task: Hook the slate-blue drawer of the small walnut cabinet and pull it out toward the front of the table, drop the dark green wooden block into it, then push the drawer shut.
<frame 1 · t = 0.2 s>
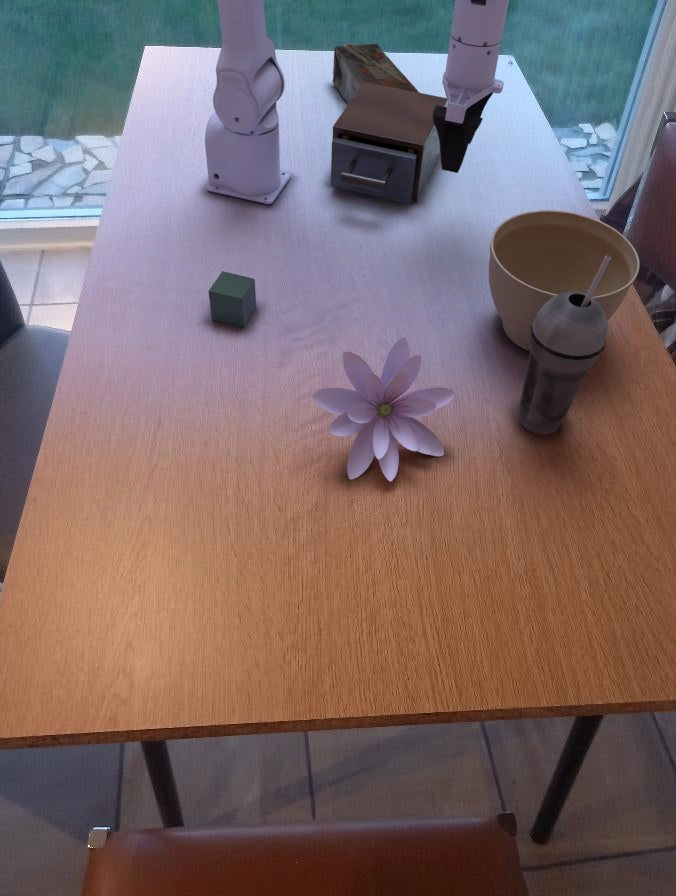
hand: (456, 155, 97), 10 cm above the table, tool pointing down, fingers open, 7 cm apart
cabinet: (387, 168, 113), on the table
beverage carton: (373, 109, 124), on the table
block: (234, 313, 90), on the table
beverage cup: (538, 420, 83), on the table
water lily: (380, 450, 79), on the table
planter bowl: (540, 331, 92), on the table
drawer: (380, 157, 107), point 4 cm above the table, slide at 1.0 cm
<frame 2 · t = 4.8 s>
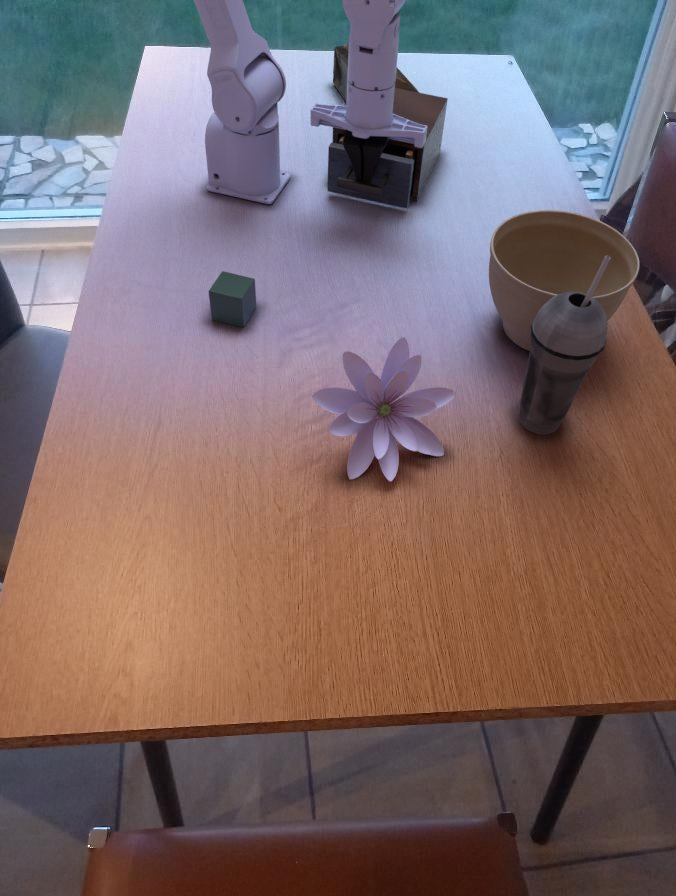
hand: (364, 188, 102), 4 cm above the table, tool pointing down, fingers closed, pressing on drawer
drawer: (377, 162, 106), point 4 cm above the table, slide at 2.4 cm, touching gripper
everything else where it was.
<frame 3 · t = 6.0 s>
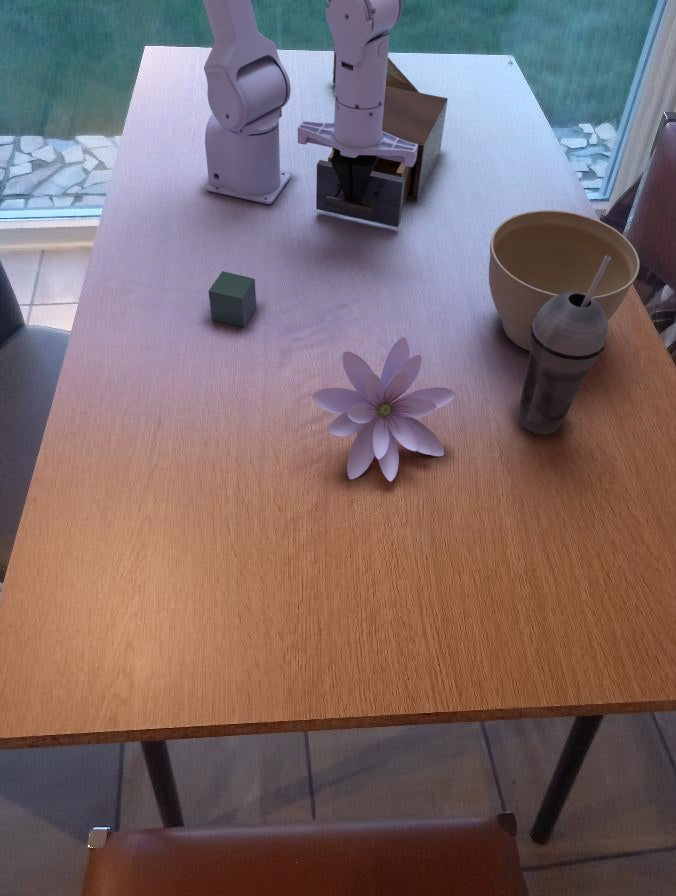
hand: (353, 207, 99), 4 cm above the table, tool pointing down, fingers closed, pressing on drawer
drawer: (367, 179, 103), point 4 cm above the table, slide at 7.3 cm, touching gripper
everything else where it was.
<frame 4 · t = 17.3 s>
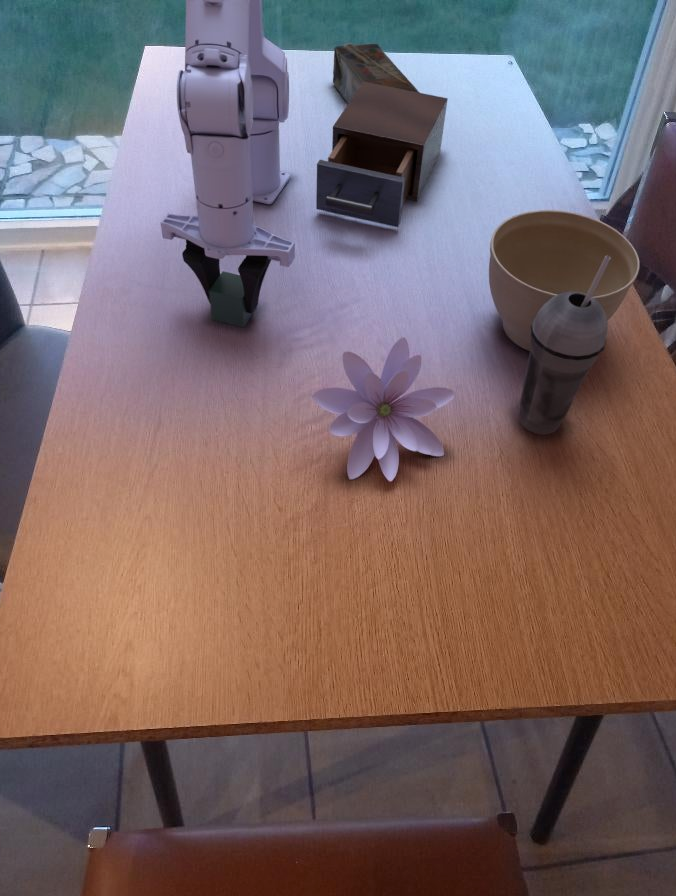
hand: (233, 303, 89), 1 cm above the table, tool pointing down, fingers closed on block, 4 cm apart
block: (234, 313, 90), on the table, touching gripper
drawer: (367, 179, 103), point 4 cm above the table, slide at 7.3 cm
everything else where it was.
when the fingers open (6 cm above the table, at t = 23.3 s): block drops 3 cm, resting on drawer.
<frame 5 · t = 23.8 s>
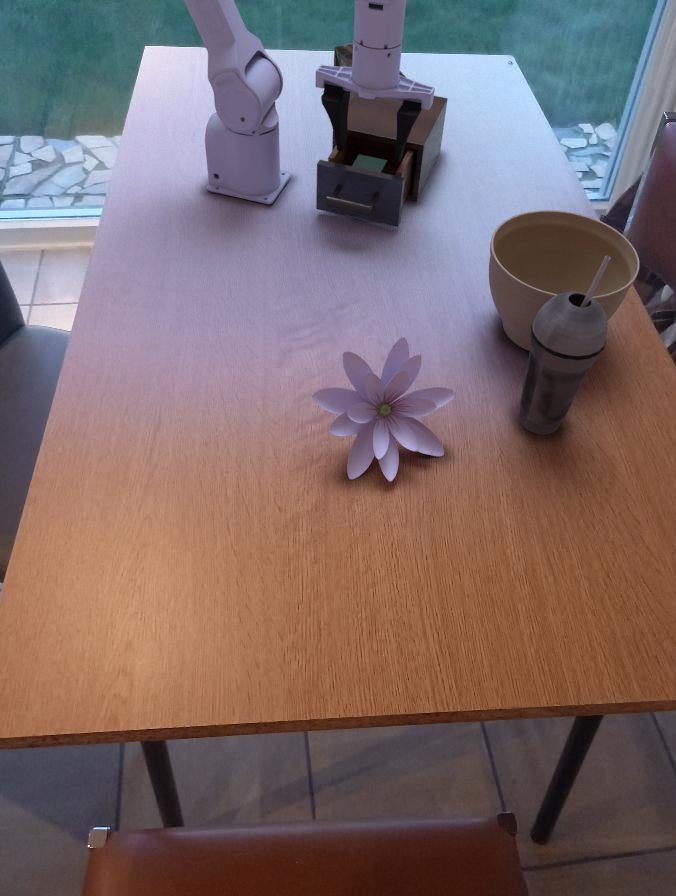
hand: (369, 153, 101), 7 cm above the table, tool pointing down, fingers open, 7 cm apart
block: (366, 192, 105), point 2 cm above the table, touching drawer
drawer: (367, 179, 103), point 4 cm above the table, slide at 7.3 cm, touching block
everything else where it was.
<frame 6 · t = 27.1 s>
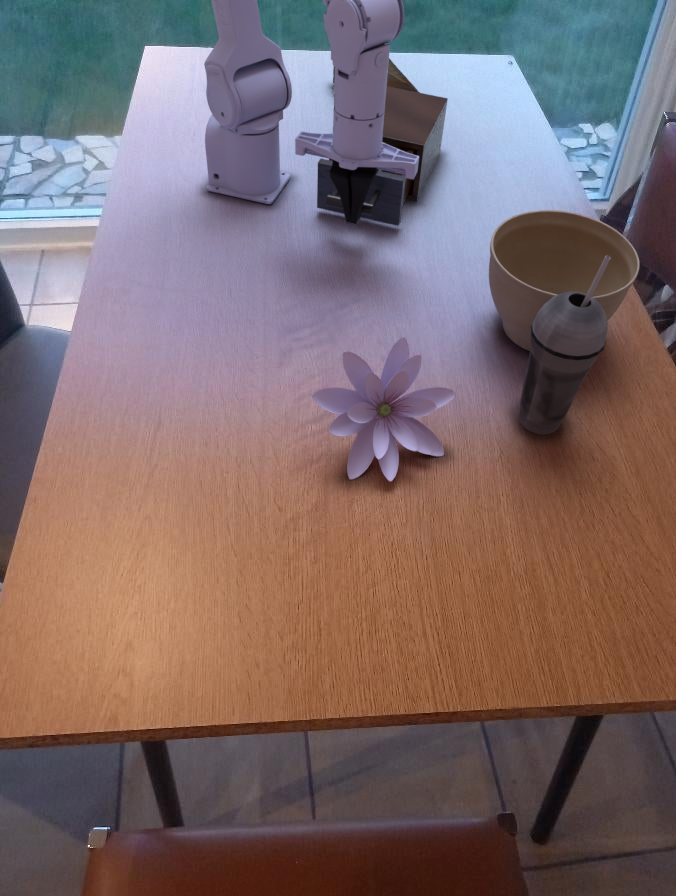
hand: (353, 219, 97), 4 cm above the table, tool pointing down, fingers closed, pressing on drawer
drawer: (368, 178, 103), point 4 cm above the table, slide at 6.9 cm, touching block, gripper
everything else where it was.
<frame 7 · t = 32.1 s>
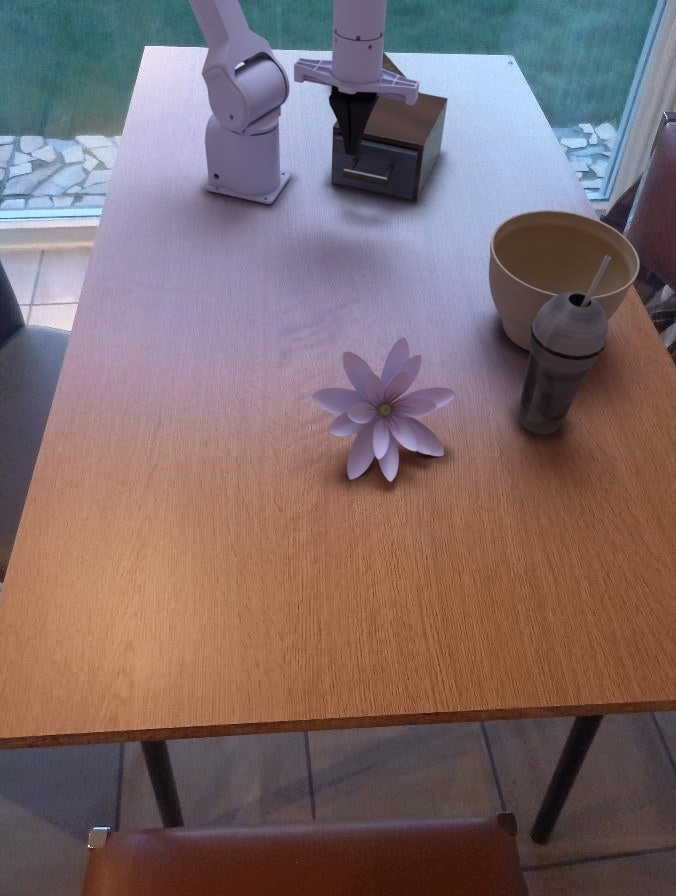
hand: (352, 151, 96), 10 cm above the table, tool pointing down, fingers closed
block: (381, 167, 109), point 2 cm above the table, touching drawer
drawer: (382, 154, 107), point 4 cm above the table, slide at 0.0 cm, touching block
everything else where it was.
at the end: drawer pulled out 7.3 cm at the most during the clip, back to where it started at the end; block inside the target area in the cabinet (3.7 cm from its centre), point 2.0 cm above the cabinet's base; drawer slide at 0.0 cm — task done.
